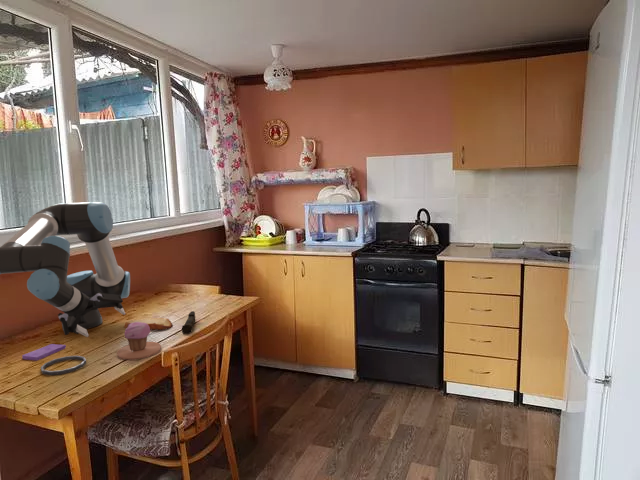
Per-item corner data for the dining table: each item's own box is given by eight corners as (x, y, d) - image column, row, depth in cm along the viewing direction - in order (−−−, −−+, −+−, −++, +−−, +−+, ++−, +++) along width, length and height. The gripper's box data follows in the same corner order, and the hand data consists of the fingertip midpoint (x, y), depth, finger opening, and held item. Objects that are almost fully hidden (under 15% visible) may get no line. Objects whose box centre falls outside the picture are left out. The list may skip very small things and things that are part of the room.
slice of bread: (122, 326, 201) (121, 318, 200) (165, 318, 210) (164, 310, 209) (129, 338, 185) (128, 328, 185) (175, 329, 194) (174, 320, 194)
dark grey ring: (32, 371, 154) (31, 368, 154) (67, 357, 166) (67, 354, 166) (60, 377, 149) (60, 373, 149) (94, 361, 161) (94, 358, 161)
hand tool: (192, 334, 187) (191, 322, 186) (181, 334, 187) (181, 323, 186) (200, 319, 206) (199, 309, 205) (191, 320, 205) (190, 310, 205)
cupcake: (129, 345, 173) (127, 319, 171) (153, 343, 174) (151, 317, 172) (123, 354, 164) (120, 327, 162) (148, 352, 165) (146, 325, 164)
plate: (107, 356, 165) (107, 354, 165) (138, 342, 179) (138, 339, 179) (140, 362, 159) (140, 359, 159) (169, 346, 173) (169, 344, 173)
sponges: (22, 360, 166) (21, 355, 166) (52, 347, 178) (51, 342, 178) (37, 362, 164) (36, 356, 164) (66, 349, 176) (66, 344, 175)
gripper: (34, 333, 136) (74, 351, 155) (112, 287, 141) (142, 310, 159) (27, 313, 139) (67, 333, 158) (104, 269, 144) (134, 294, 163)
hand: (105, 322), depth 159 cm, fingers open, 13 cm apart
